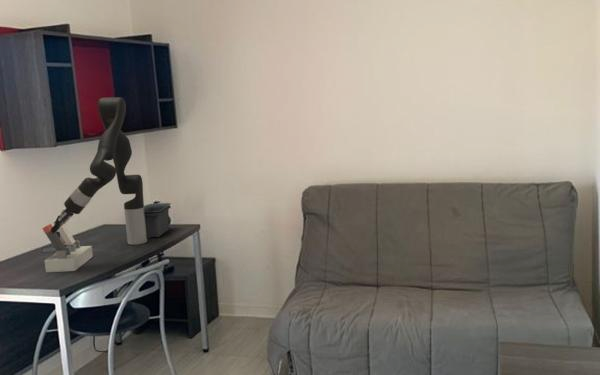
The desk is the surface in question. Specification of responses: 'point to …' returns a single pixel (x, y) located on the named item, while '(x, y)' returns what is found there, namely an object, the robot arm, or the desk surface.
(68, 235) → the ivory lever
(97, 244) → the desk surface
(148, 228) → the storage bin
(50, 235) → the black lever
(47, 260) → the switch box
